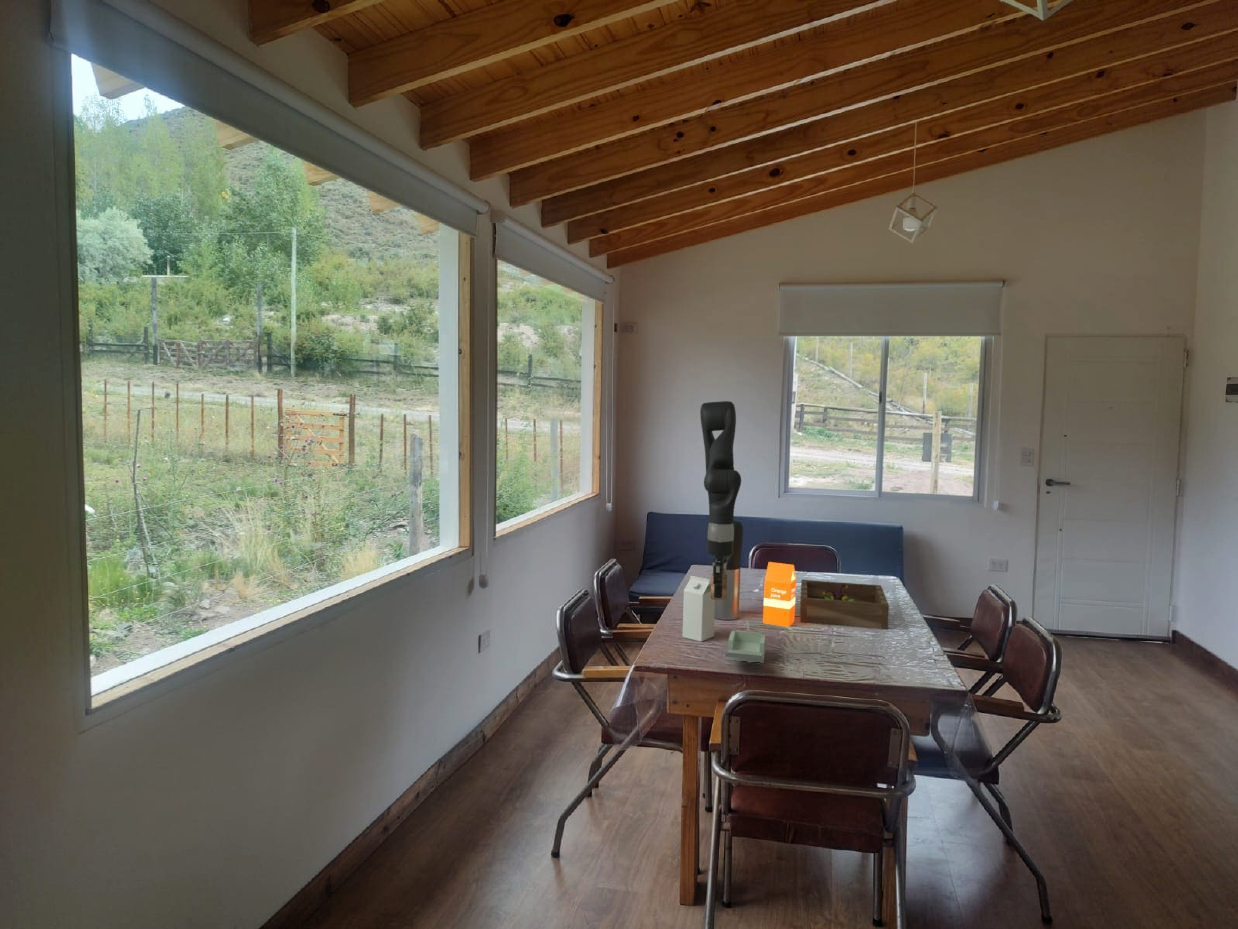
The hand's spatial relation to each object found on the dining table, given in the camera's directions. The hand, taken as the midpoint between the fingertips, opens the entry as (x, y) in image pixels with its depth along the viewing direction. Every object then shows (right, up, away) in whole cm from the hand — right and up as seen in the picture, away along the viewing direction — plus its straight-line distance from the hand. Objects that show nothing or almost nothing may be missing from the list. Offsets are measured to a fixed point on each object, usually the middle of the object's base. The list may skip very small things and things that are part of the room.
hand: (718, 595), depth 235 cm
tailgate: (+7, -15, -7) cm, 18 cm away
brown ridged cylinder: (0, -1, 0) cm, 1 cm away
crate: (+8, -18, -1) cm, 19 cm away
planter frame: (+48, -14, +45) cm, 68 cm away
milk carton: (-4, -16, +16) cm, 23 cm away
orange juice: (+24, -15, +34) cm, 44 cm away
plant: (+47, -15, +44) cm, 66 cm away
